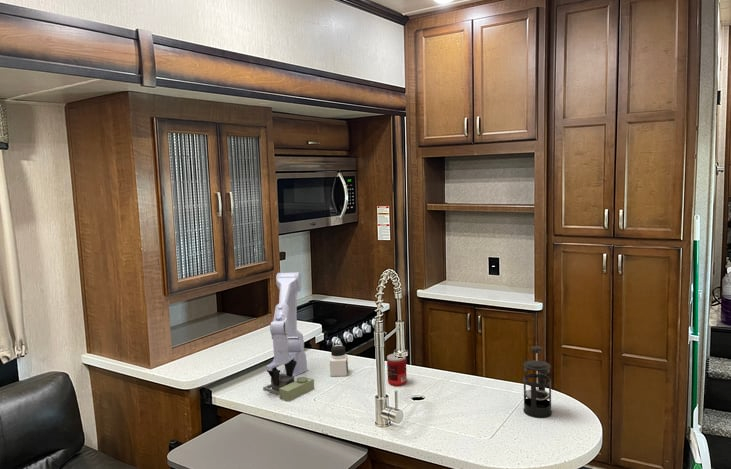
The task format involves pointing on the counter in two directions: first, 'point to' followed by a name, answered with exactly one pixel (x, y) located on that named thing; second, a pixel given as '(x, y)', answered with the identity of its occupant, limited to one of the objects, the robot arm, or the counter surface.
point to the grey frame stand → (293, 388)
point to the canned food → (396, 370)
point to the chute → (282, 381)
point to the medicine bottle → (338, 361)
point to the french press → (537, 395)
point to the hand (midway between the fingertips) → (283, 382)
